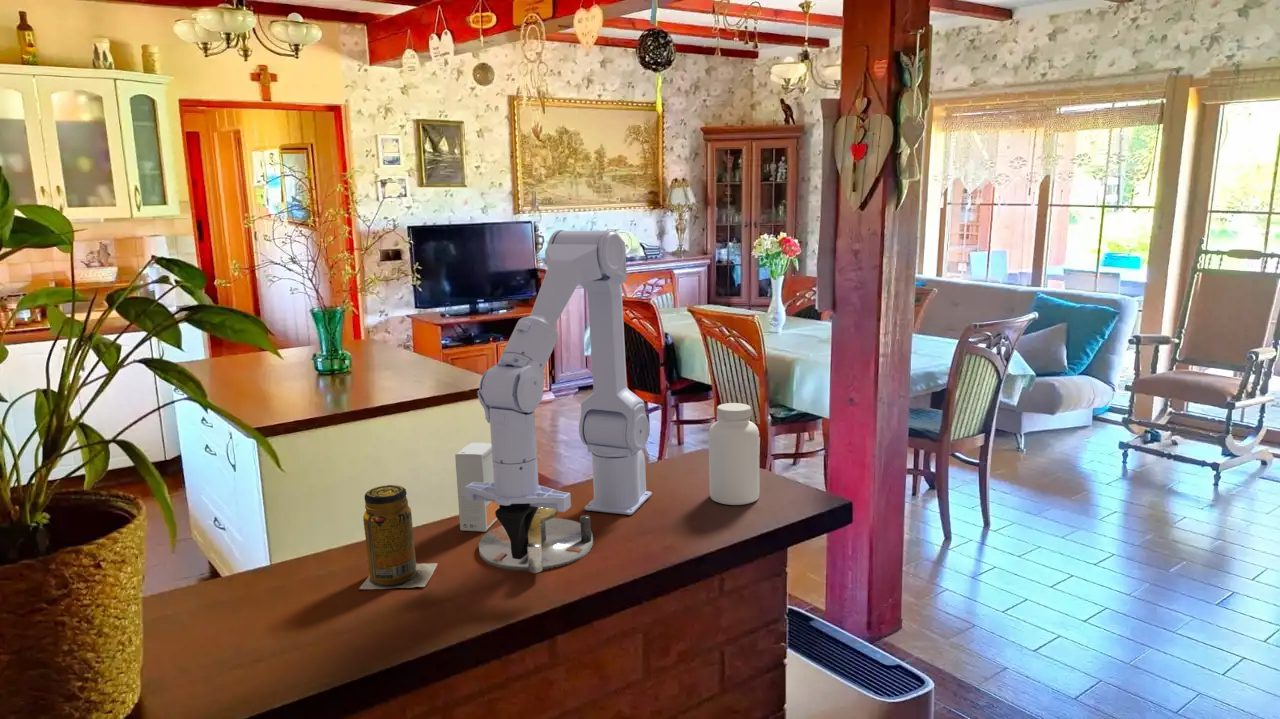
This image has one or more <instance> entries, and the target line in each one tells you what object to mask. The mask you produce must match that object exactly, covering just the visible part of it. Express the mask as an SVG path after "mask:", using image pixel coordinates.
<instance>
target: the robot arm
mask: <svg viewBox="0 0 1280 719" xmlns="http://www.w3.org/2000/svg"><path fill="white" fill-rule="evenodd" d="M626 253H627V252H626V243H625V241H624V239H623V238H622V237H621V235H620V234H619V233H618V232H617V231H616V230H614V229H606V230H563V229H559V230H558V229H557V230H556V231H553V233H552V234H551V236H550V238H549V239H548V242H547V246H546V248H545V250H544V256H545V258H544V259H545V262H546V267H547V268H546V272H545V273H544V274H545V275H544V276H543V277H544V278H543V279H542V283H541V286H540V287H539V291H538V293H537V296H536V299H535V300H534V301H535V302H534V304H533V308H532V310H531V312H530V315H528V316H524V317H521V318H519V320H518V321H517V323H516V324H515V326H514V329H513V331H512V333H511V335H510V337H509V339H508V341H507V343H506V346H505V348H504V350H503V352H502V354H501V355H500V357H499V360H498V362H497V364H496V365H493V366H492V367H490V368H487V370H485V371H484V373H483V374H482V376H481V378H480V382H479V387H478V389H479V390H477V397H478V398H477V399H478V400H479V404H480V405H481V406H482V408H483V409H484V416H485V420H486V421H487V423H488V424H489V428H490V429H489V430H490V443H491V446H492V460H493V475H494V483H476V482H472V483H471V484H469V485H467V486H466V487H465V496H466V501H474V500H483V501H492V502H496V504H497V505H499V509H497V510H496V512H495V513H496V517H497V521H499V523H500V525H501V526H502V525H503V527H504V529H505V530H506V532H507V534H508V537H509V539H510V541H511V553H512V557H513V558H514V559H522V558H523V557H524V556H525V555H527V554H528V551H527V545H528V532H529V528H530V525H531V523H532V520H533V518H534V515H535V513H536V511H537V509H538V507H543V508H551V509H557V511H558V512H559V513H565V512H566V511H568V510H569V509H571V507H572V502H571V499H572V498H571V493H570V492H565V491H560V490H558V489H553V488H550V487H547V486H543V485H540V484H539V470H538V469H539V468H538V467H539V466H538V451H537V449H538V448H537V432H536V431H537V430H536V417H535V416H536V415H535V410H537V408H538V407H539V406H540V403H541V401H542V400H543V395H544V381H545V380H546V377H545V376H546V373H545V372H544V370H545V368H546V365H547V364H548V362H549V359H550V358H551V354H552V353H553V351H554V349H555V345H556V344H557V341H558V339H559V337H558V336H559V335H558V331H557V329H556V328H555V326H556V323H557V322H558V320H559V318H560V317H561V315H562V313H563V311H564V310H565V308H566V306H567V305H568V302H569V300H570V299H571V297H572V296H573V294H574V292H575V290H576V289H577V287H578V286H579V285H580V286H581V287H582V288H583V289H584V290H585V291H586V293H587V303H588V304H587V305H588V320H589V321H588V322H589V339H590V356H591V368H592V369H591V371H592V388H593V390H592V391H593V392H592V393H590V395H588V396H586V398H584V400H583V401H582V402H581V404H580V418H579V421H578V422H579V423H578V434H579V438H580V440H581V442H582V444H584V445H585V446H586V447H587V452H589V453H591V463H592V481H593V482H592V484H593V486H592V487H593V499H592V500H591V501H589V503H587V504H586V505H584V510H585V511H589V512H590V511H592V512H600V513H609V514H620V515H628V516H631V515H633V514H634V513H635V512H636V511H637V510H638V509H639V508H640V507H641V506H642V505H643V504H644V503H645V502H646V501H647V500H648V499H649V498H650V497H651V496H652V494H653V492H652V491H650V490H649V491H648V490H647V479H646V478H647V477H646V458H645V457H646V456H645V454H644V452H643V450H642V449H643V448H644V447H645V446H646V444H647V442H648V438H649V436H650V435H649V434H650V422H649V420H648V416H647V414H646V408H645V401H644V400H643V399H642V398H641V397H639V396H638V395H637V394H635V393H634V392H633V391H631V390H630V389H629V388H628V384H627V383H628V382H627V380H628V379H627V365H626V364H627V362H626V346H625V345H626V344H625V326H624V309H623V287H622V286H623V285H622V284H624V283H626V282H627V277H628V276H627V259H626V258H627V254H626Z"/></svg>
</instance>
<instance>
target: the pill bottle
mask: <svg viewBox="0 0 1280 719" xmlns="http://www.w3.org/2000/svg"><path fill="white" fill-rule="evenodd" d="M751 416H752V407H751V405H748V404H747V403H740V402H727V403H722V404H719V405H717V407H716V420H717V421H715V422H713V423H711V425H710V427H709V428H708V473H709V474H708V475H709V477H708V478H709V485H708V486H709V496H710V498H711V500H712V501H714V502H716V503H718V504H723V505H728V506H730V505H731V506H741V505H748V504H751V503H754V502H756V501H757V500H758V499H759V497H760V431H759V428H758V426H757V425H756V424H755V423H754V422H752V421H750V420H751Z"/></svg>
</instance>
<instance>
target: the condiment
mask: <svg viewBox="0 0 1280 719" xmlns="http://www.w3.org/2000/svg"><path fill="white" fill-rule="evenodd" d="M407 494H408V493H407V490H406V488H405V487H403V486H401V485H398V484H393V485H392V484H388V485H380V486H376V487H372V488H371V489H369V490H368V491H366V492H365V494H364V503H365V504H364V509H365V512H364V513H363V518H362V519H363V530H364V535H365V537H364V538H365V547H366V550H365V551H366V555H367V566H368V567H367V568H368V577H367V578H366V579H365V581H364V582H363V583H362V584H361V585H360V587H359V588H358V589H359V590H388V589H396V588H401V589H403V588H405V589H409V588H416V587H419V588H424V587H426V585H427V584H428V583H429V581H430V579H431V577H432V576H433V574H434V572H435V570H436V569H437V566H438V564H439V563H437V562H434V563H433V562H430V563H426V562H423V563H417V559H416V551H415V540H414V538H415V537H414V528H413V517H412V510H411V508H410V506H409V501H408V498H407ZM417 570H418V571H417ZM420 571H421V573H420ZM412 581H413V582H412Z"/></svg>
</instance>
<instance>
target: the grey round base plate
mask: <svg viewBox="0 0 1280 719" xmlns="http://www.w3.org/2000/svg"><path fill="white" fill-rule="evenodd" d="M593 535H594V533H593V532H592V529H591V516H590V515H589V514H584V515H580V517H579V521H575V520H572V519H567V518H559V517H554V518H552V519H549V520H546V521H542V522H541V537H542V565H543V569H544V570H549V568H551V569H554V568H553V567H556V568H558V567H557V566H560V567H563V566H566V565H565V564H567V565H570V564H572V563H574V562H577V561H579V560H580V559H583V557H585V556H586V555H588V554H589V553H590V551H591V550H592V549H593V547H592V546H594V536H593ZM528 537H529V532H528ZM591 548H592V549H591ZM478 550H479V551H478V552H479V557H480V558H481V560H482V561H484V562H485V563H486V564H488V565H490V566H492V567H495V568H499V569H504V570H507V569H508V570H509V571H521V572H526V571H527V572H529V567H528V554H527V555H525V556H524V557H523V558H522V559H514V558H513V557H512V553H511V541H510V539H509V537H508V534H507V532H506V530H505V529H504V527H503V525H502V524H501V525H498V526H497V527H494V528H493V529H491V530H489V531H488V532H485V534H484V535H483V536H482V537H481V538H480V540H479V542H478ZM588 552H589V553H588ZM578 559H579V560H578ZM562 565H563V566H562ZM508 570H507V571H508Z"/></svg>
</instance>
